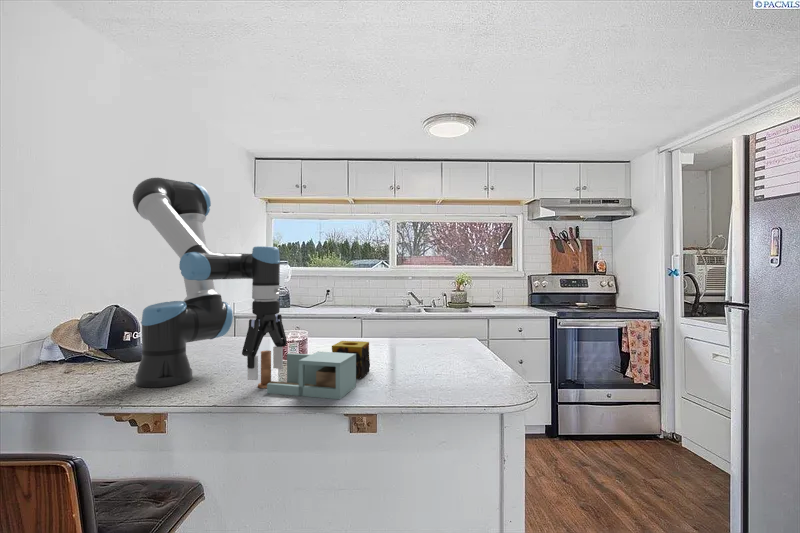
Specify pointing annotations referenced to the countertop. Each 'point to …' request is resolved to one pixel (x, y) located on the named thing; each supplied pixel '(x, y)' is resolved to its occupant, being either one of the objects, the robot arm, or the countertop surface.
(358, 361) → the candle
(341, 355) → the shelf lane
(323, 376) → the tethered block
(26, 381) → the countertop surface
